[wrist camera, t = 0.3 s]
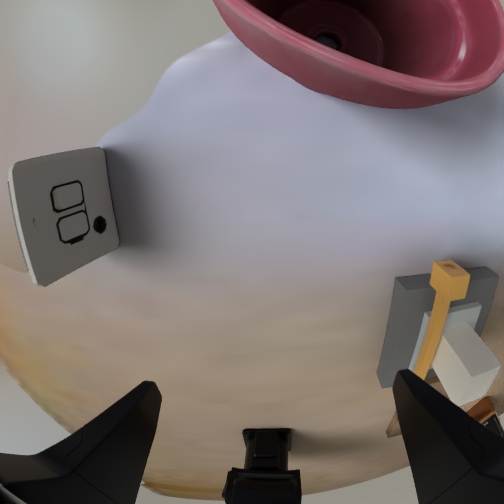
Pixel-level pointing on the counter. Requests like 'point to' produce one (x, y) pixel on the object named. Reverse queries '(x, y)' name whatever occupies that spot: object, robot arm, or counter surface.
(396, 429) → the walnut board
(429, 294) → the socket block
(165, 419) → the counter surface
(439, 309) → the ball-topped lever
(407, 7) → the plant pot
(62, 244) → the electrical switch
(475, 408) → the whiskey bottle
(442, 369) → the plug
